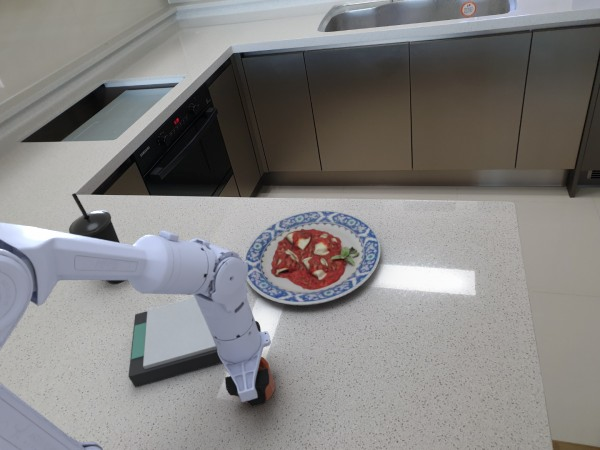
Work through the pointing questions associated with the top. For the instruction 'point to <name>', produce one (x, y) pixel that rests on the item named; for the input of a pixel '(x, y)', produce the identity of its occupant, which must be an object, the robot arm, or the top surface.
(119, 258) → the robot arm
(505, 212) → the top surface
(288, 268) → the ceramic plate
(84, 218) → the drinking cup
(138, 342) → the scale
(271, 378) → the flower pot
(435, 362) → the top surface
